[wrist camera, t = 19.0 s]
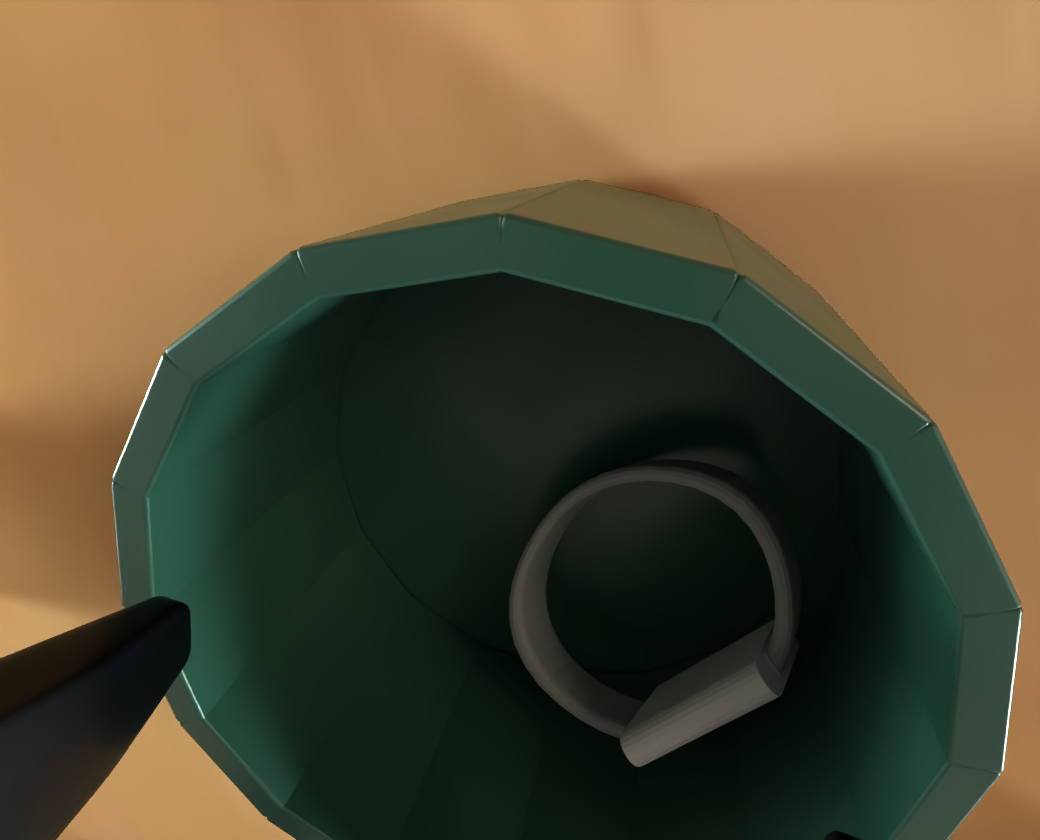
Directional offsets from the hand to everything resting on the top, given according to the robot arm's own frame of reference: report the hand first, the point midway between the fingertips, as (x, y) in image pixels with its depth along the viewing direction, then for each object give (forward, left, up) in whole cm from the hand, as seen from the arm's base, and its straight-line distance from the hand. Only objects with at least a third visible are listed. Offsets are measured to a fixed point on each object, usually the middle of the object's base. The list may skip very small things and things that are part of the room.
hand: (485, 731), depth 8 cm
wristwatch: (0, 0, -6) cm, 6 cm away
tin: (0, 0, -7) cm, 7 cm away
